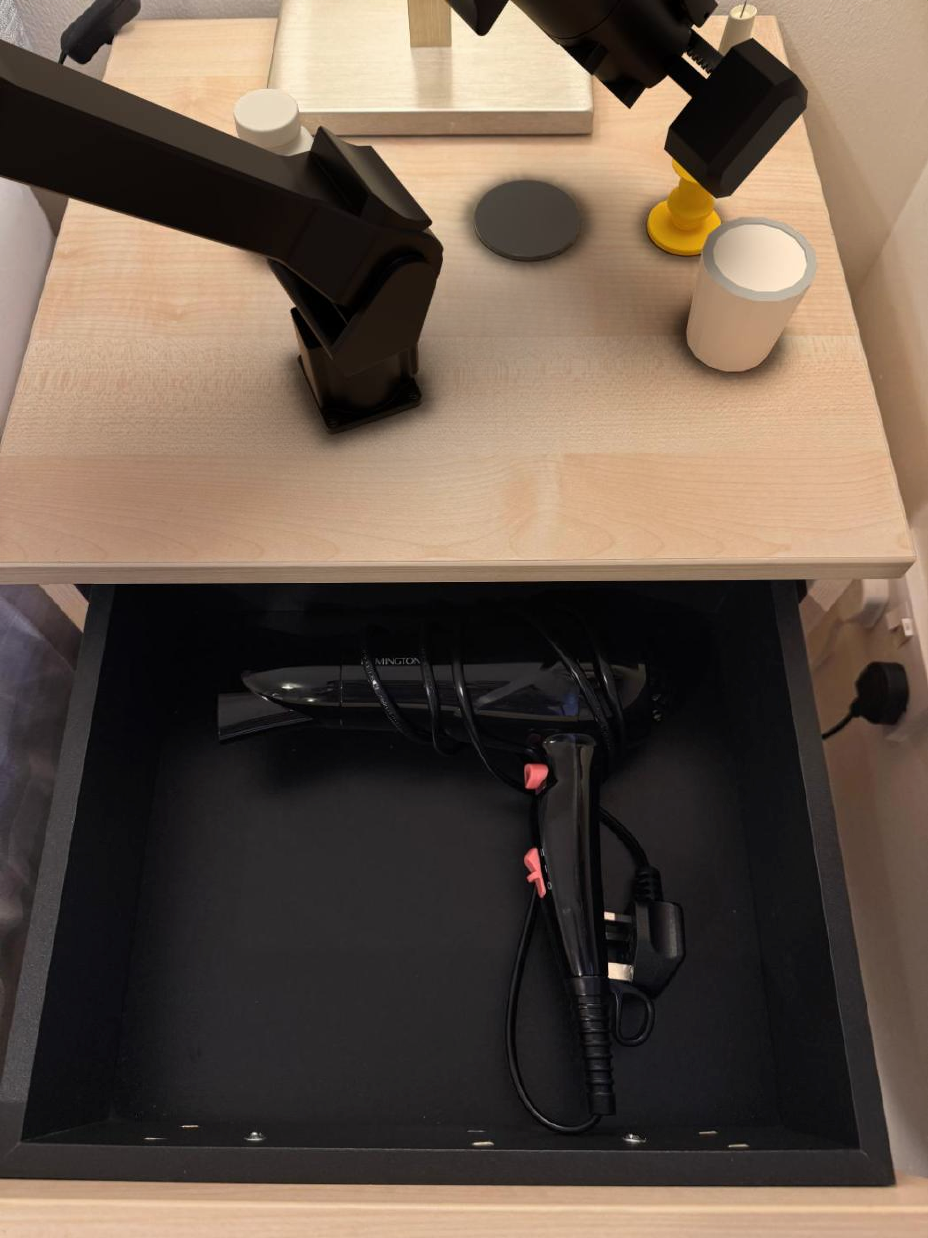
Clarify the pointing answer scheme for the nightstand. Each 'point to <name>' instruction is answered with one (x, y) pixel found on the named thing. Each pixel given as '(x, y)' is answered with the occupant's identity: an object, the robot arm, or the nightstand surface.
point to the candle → (690, 205)
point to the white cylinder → (747, 291)
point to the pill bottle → (271, 122)
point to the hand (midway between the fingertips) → (709, 107)
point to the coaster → (527, 220)
